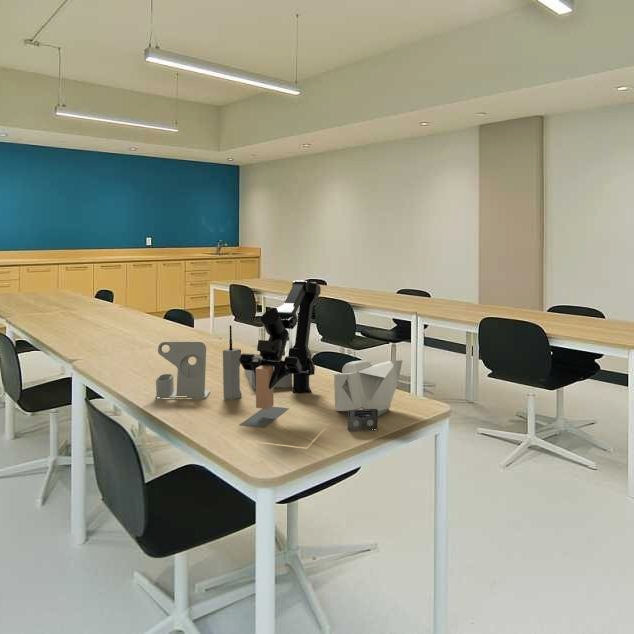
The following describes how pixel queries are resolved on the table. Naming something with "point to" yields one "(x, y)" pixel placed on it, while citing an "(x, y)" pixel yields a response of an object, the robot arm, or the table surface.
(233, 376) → the vintage mobile phone
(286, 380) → the warehouse
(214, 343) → the table surface
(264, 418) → the charcoal mat
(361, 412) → the mini dv tape
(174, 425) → the table surface
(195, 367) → the phone holder
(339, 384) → the folded paper
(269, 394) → the terracotta block
